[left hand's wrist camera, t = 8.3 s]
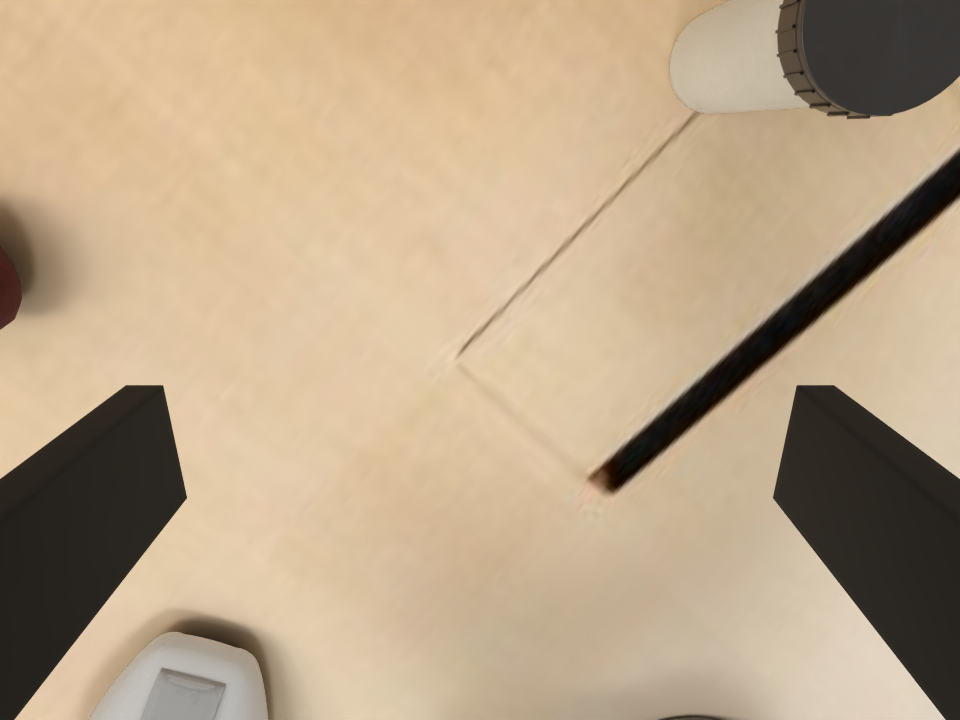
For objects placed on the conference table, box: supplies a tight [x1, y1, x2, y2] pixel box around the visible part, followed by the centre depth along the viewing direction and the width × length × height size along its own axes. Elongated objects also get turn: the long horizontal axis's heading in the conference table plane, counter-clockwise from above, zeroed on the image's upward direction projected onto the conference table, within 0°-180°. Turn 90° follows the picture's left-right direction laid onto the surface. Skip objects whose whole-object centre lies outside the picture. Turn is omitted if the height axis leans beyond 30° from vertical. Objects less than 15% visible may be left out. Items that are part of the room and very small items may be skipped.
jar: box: [669, 0, 810, 114], centre depth 27 cm, size 5×5×16 cm
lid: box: [775, 0, 960, 119], centre depth 20 cm, size 6×6×2 cm
